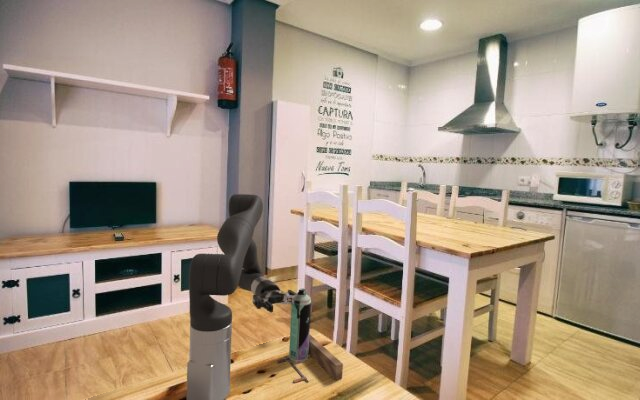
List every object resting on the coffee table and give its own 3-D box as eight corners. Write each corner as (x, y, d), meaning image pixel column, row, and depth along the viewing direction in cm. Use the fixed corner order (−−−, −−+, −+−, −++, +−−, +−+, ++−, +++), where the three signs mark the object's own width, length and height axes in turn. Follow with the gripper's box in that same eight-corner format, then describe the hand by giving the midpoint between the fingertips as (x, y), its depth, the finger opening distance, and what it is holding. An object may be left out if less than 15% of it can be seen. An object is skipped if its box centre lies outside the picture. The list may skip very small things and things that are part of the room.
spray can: (307, 363, 97) (311, 293, 95) (287, 361, 97) (291, 292, 96) (308, 352, 103) (312, 286, 101) (290, 351, 103) (293, 285, 101)
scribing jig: (342, 378, 91) (342, 363, 91) (301, 391, 85) (302, 375, 84) (308, 346, 106) (309, 333, 106) (271, 355, 100) (272, 342, 100)
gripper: (245, 282, 117) (263, 298, 104) (284, 277, 125) (306, 292, 111) (244, 303, 118) (262, 323, 104) (283, 297, 125) (304, 315, 112)
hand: (285, 307), depth 108 cm, fingers open, 8 cm apart
